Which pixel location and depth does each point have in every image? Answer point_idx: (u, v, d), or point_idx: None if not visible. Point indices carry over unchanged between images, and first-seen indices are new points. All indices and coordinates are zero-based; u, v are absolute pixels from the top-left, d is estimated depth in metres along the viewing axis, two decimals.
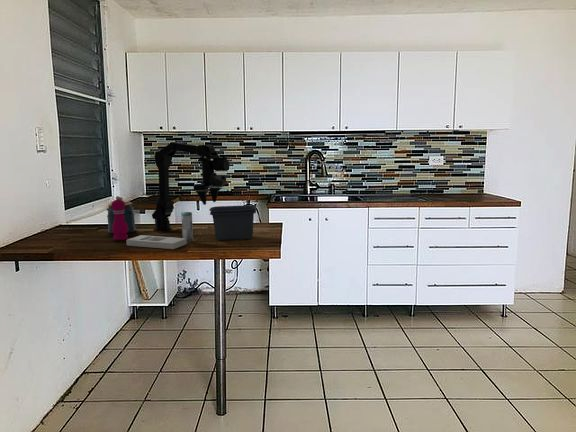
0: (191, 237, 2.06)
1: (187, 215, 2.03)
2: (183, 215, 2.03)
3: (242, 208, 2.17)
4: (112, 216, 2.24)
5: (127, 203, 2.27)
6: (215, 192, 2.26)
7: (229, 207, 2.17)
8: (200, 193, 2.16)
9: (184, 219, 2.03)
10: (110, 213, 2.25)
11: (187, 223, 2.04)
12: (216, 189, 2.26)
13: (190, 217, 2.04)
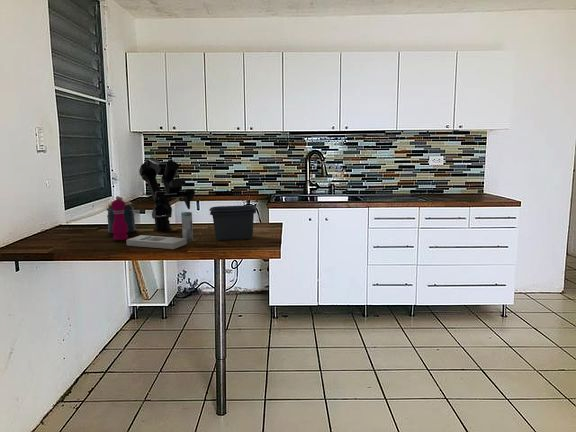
0: (191, 237, 2.06)
1: (187, 215, 2.03)
2: (183, 215, 2.03)
3: (242, 208, 2.17)
4: (112, 216, 2.24)
5: (127, 203, 2.27)
6: (187, 200, 2.16)
7: (229, 207, 2.17)
8: (163, 203, 2.12)
9: (184, 219, 2.03)
10: (110, 213, 2.25)
11: (187, 223, 2.04)
12: (186, 196, 2.16)
13: (190, 217, 2.04)
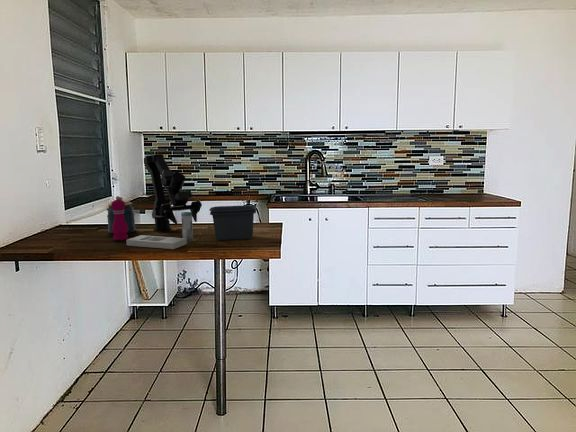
0: (191, 237, 2.06)
1: (187, 215, 2.03)
2: (183, 215, 2.03)
3: (242, 208, 2.17)
4: (112, 216, 2.24)
5: (127, 203, 2.27)
6: (193, 212, 2.11)
7: (229, 207, 2.17)
8: (169, 216, 2.06)
9: (184, 219, 2.03)
10: (110, 213, 2.25)
11: (187, 223, 2.04)
12: (193, 209, 2.11)
13: (190, 217, 2.04)
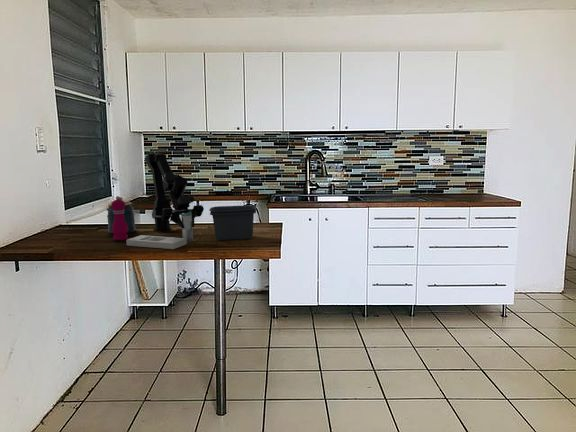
0: (191, 237, 2.06)
1: (187, 215, 2.03)
2: (183, 215, 2.03)
3: (242, 208, 2.17)
4: (112, 216, 2.24)
5: (127, 203, 2.27)
6: None
7: (229, 207, 2.17)
8: (175, 220, 2.06)
9: (184, 219, 2.03)
10: (110, 213, 2.25)
11: (187, 223, 2.04)
12: None
13: (190, 217, 2.04)
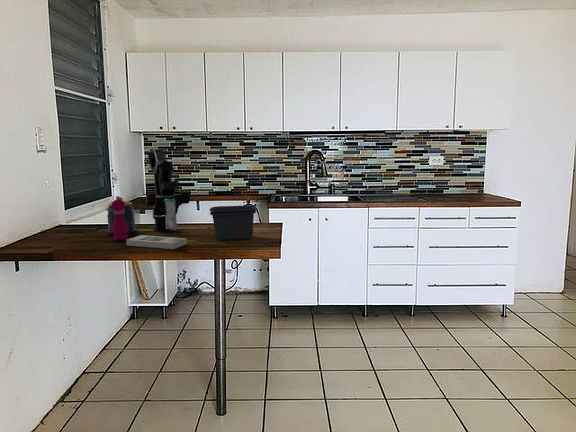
0: (174, 224, 2.01)
1: (169, 201, 1.98)
2: (165, 201, 1.99)
3: (242, 208, 2.17)
4: (112, 216, 2.24)
5: (127, 203, 2.27)
6: (175, 203, 2.03)
7: (229, 207, 2.17)
8: (159, 205, 2.02)
9: (166, 205, 1.99)
10: (110, 213, 2.25)
11: (169, 210, 1.99)
12: (175, 200, 2.04)
13: (172, 203, 1.99)
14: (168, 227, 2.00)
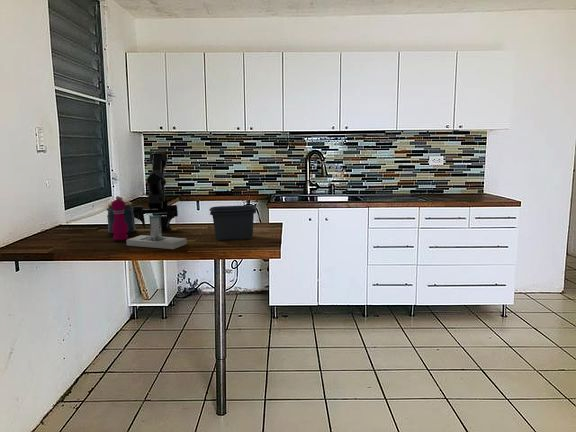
0: None
1: (153, 218, 1.97)
2: (150, 218, 1.98)
3: (242, 208, 2.17)
4: (112, 216, 2.24)
5: (127, 203, 2.27)
6: (166, 216, 2.02)
7: (229, 207, 2.17)
8: None
9: (150, 222, 1.98)
10: (110, 213, 2.25)
11: (153, 226, 1.98)
12: (167, 213, 2.02)
13: (156, 220, 1.98)
14: None
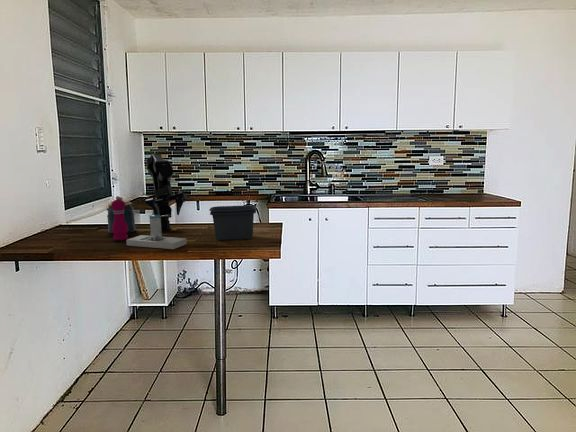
0: None
1: (153, 218, 1.97)
2: (150, 218, 1.98)
3: (242, 208, 2.17)
4: (112, 216, 2.24)
5: (127, 203, 2.27)
6: None
7: (229, 207, 2.17)
8: None
9: (150, 222, 1.98)
10: (110, 213, 2.25)
11: (153, 226, 1.98)
12: None
13: (157, 220, 1.98)
14: None
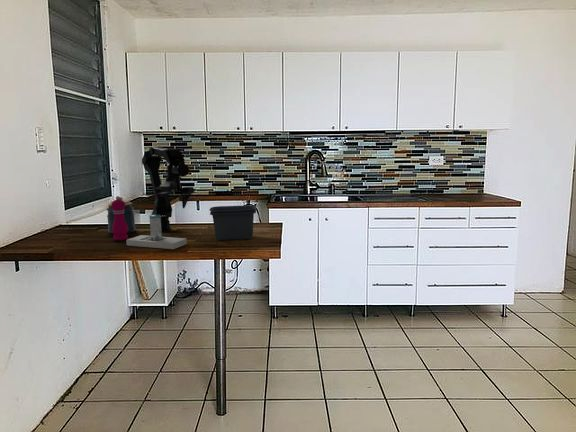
0: None
1: (153, 218, 1.97)
2: (150, 218, 1.98)
3: (242, 208, 2.17)
4: (112, 216, 2.24)
5: (127, 203, 2.27)
6: None
7: (229, 207, 2.17)
8: None
9: (150, 222, 1.98)
10: (110, 213, 2.25)
11: (153, 226, 1.98)
12: None
13: (157, 220, 1.98)
14: None
